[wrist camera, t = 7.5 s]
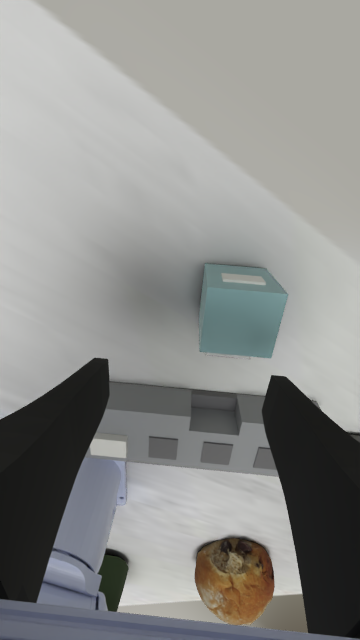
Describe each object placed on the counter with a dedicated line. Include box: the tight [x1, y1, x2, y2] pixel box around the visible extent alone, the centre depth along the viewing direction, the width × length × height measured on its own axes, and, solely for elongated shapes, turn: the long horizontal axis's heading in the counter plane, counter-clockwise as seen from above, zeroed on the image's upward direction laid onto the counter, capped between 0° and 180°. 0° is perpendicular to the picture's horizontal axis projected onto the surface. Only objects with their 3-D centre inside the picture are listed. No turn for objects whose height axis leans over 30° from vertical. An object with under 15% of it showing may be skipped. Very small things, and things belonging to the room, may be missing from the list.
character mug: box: [97, 555, 128, 612], centre depth 32 cm, size 11×7×13 cm, turn 40°
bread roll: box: [195, 538, 274, 625], centre depth 34 cm, size 10×10×8 cm
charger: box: [199, 263, 288, 359], centre depth 17 cm, size 6×4×5 cm
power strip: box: [85, 382, 360, 477], centre depth 23 cm, size 6×28×4 cm, turn 86°
